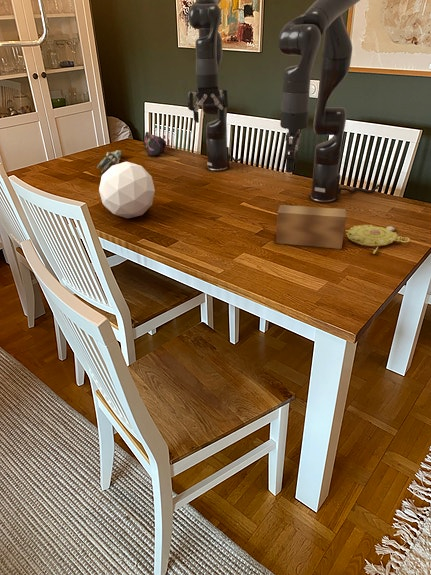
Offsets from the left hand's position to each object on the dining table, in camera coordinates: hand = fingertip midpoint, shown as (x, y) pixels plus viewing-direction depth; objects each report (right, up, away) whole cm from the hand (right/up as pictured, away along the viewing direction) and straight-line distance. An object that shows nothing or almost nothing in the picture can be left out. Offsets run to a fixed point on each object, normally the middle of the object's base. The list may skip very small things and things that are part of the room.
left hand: (208, 121), depth 161 cm
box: (+32, -46, -21) cm, 60 cm away
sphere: (-29, -34, +1) cm, 45 cm away
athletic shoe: (-28, +10, +71) cm, 77 cm away
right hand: (+25, -26, -32) cm, 48 cm away
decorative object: (+54, -45, -21) cm, 73 cm away
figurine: (-48, -1, +53) cm, 72 cm away
